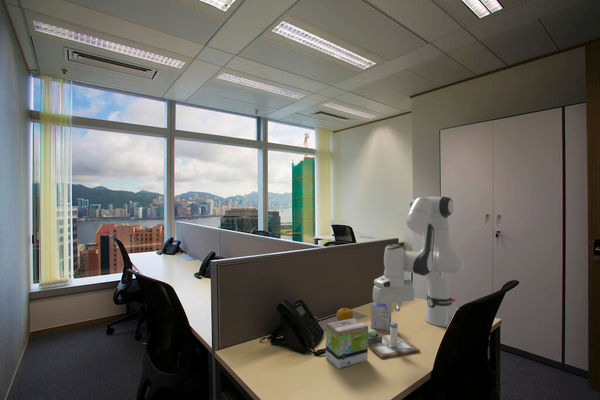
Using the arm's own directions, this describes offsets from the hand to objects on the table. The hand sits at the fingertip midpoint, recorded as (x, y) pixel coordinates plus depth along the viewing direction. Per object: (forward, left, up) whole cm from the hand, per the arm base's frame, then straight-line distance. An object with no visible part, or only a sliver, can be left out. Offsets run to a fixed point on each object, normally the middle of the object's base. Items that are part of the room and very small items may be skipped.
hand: (393, 311), depth 129 cm
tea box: (+24, +1, -17) cm, 30 cm away
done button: (+6, -9, -15) cm, 18 cm away
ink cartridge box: (-8, -22, -17) cm, 29 cm away
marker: (0, 0, -16) cm, 16 cm away
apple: (+9, -31, -17) cm, 37 cm away
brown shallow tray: (0, -4, -17) cm, 18 cm away
